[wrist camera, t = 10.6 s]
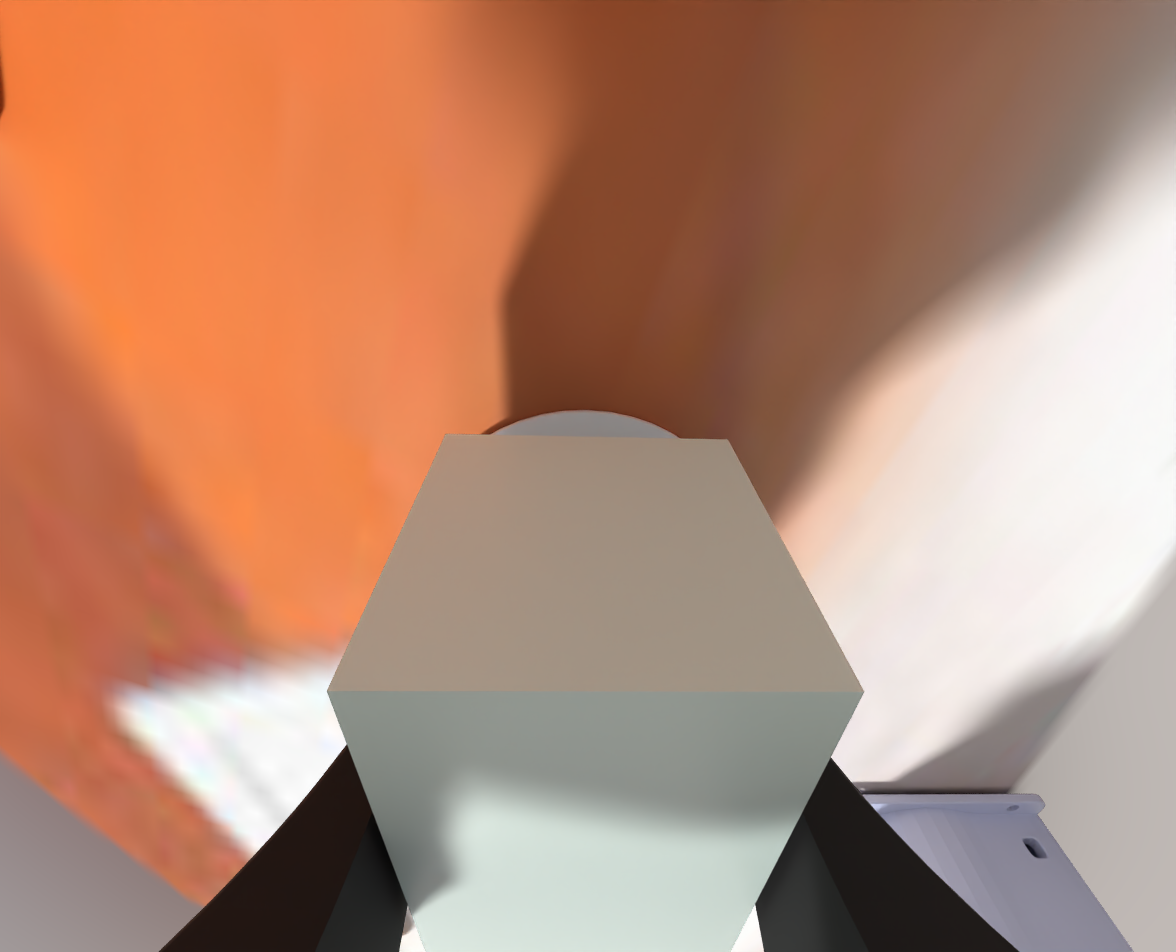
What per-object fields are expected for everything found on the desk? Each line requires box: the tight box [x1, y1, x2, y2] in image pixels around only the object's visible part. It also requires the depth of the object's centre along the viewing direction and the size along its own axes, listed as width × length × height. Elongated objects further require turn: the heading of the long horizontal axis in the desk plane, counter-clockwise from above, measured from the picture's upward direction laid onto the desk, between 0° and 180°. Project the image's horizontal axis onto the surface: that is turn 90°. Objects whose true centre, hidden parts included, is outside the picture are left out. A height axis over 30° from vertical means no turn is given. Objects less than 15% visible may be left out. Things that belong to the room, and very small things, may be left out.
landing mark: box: [490, 410, 679, 438], centre depth 15 cm, size 9×9×1 cm
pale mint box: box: [327, 434, 864, 952], centre depth 11 cm, size 6×10×6 cm, turn 178°
